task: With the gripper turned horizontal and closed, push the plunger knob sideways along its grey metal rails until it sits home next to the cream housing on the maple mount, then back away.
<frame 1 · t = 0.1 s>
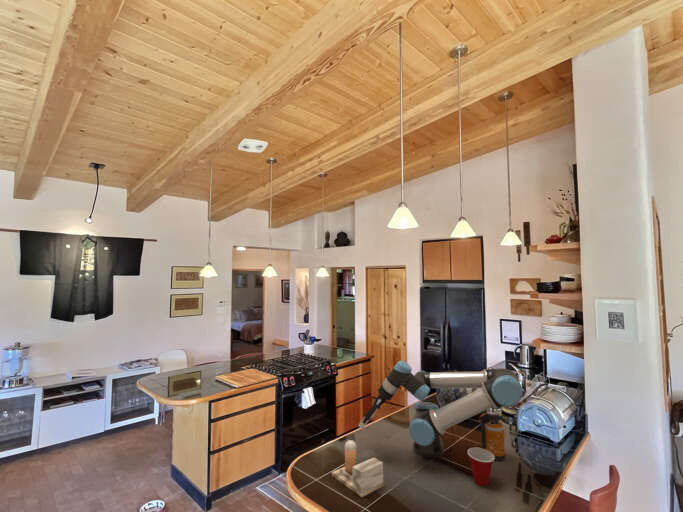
hand: (364, 421, 175), 15 cm above the worktop, tool tilted 35°, fingers open, 13 cm apart
decorative vase: (452, 418, 217), on the worktop
plunger knob: (350, 456, 155), point 8 cm above the worktop, slide at 0.0 cm
dragon fruit: (489, 428, 202), on the worktop
canister: (493, 457, 170), on the worktop
plastic cup: (482, 483, 148), on the worktop
knob mount: (356, 480, 151), on the worktop
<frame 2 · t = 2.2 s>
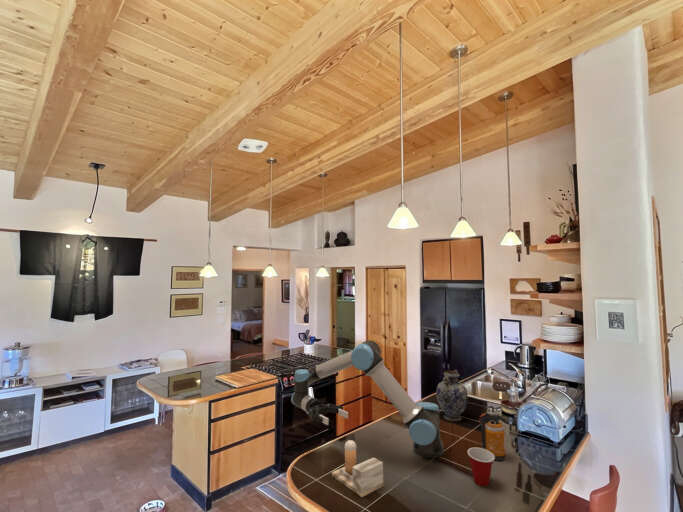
hand: (337, 418, 163), 22 cm above the worktop, tool horizontal, fingers open, 11 cm apart
nothing on the worktop moved.
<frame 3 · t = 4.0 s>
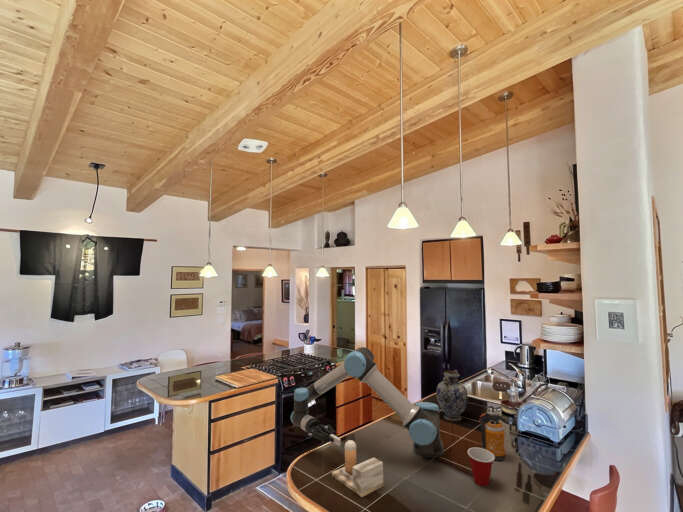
hand: (339, 442, 161), 12 cm above the worktop, tool horizontal, fingers closed
nothing on the worktop moved.
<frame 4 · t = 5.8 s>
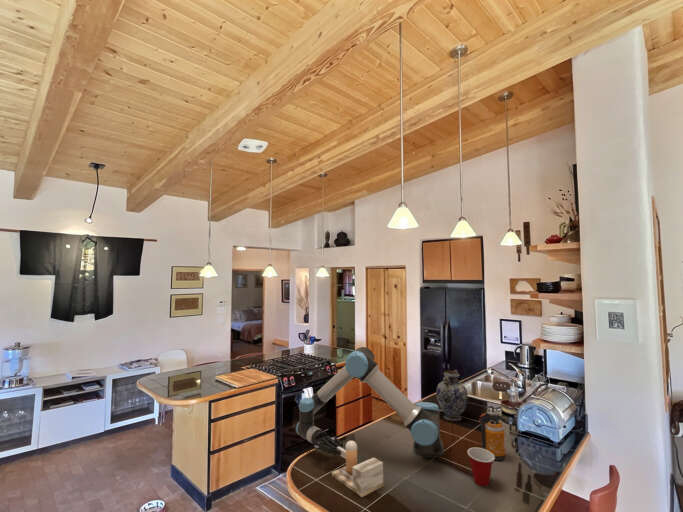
hand: (346, 455, 156), 8 cm above the worktop, tool horizontal, fingers closed
plunger knob: (351, 457, 154), point 8 cm above the worktop, slide at 0.6 cm, touching gripper
everything else where it was.
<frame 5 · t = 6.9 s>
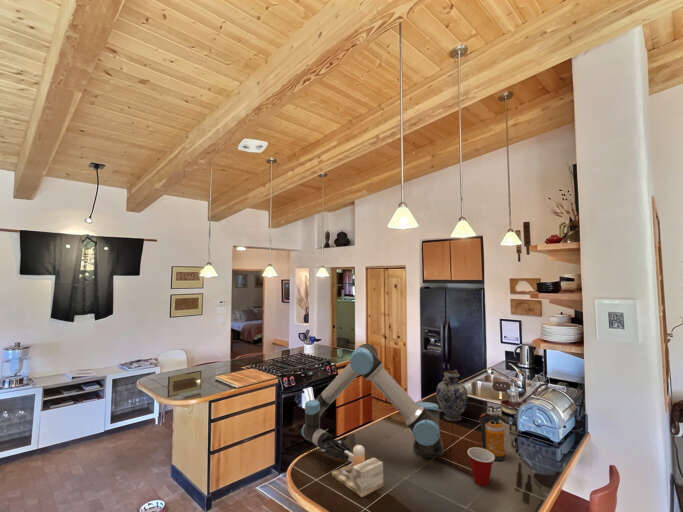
hand: (354, 459, 152), 8 cm above the worktop, tool horizontal, fingers closed
plunger knob: (359, 461, 150), point 8 cm above the worktop, slide at 5.7 cm, touching gripper
everything else where it was.
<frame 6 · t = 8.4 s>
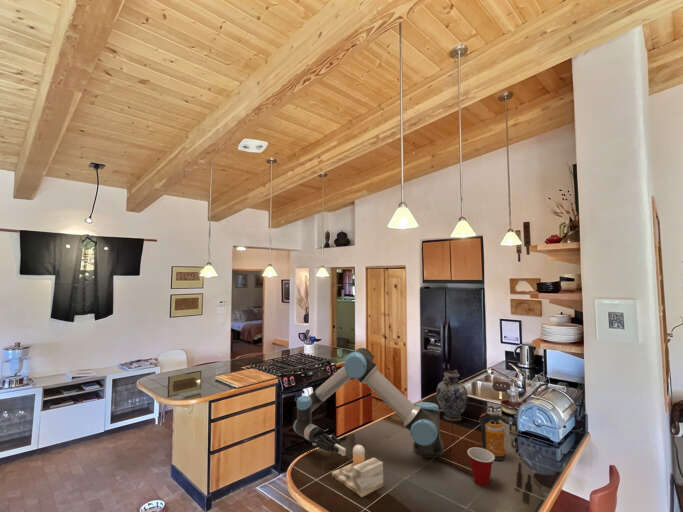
hand: (344, 452, 158), 9 cm above the worktop, tool horizontal, fingers closed
plunger knob: (358, 461, 151), point 8 cm above the worktop, slide at 5.5 cm
everything else where it was.
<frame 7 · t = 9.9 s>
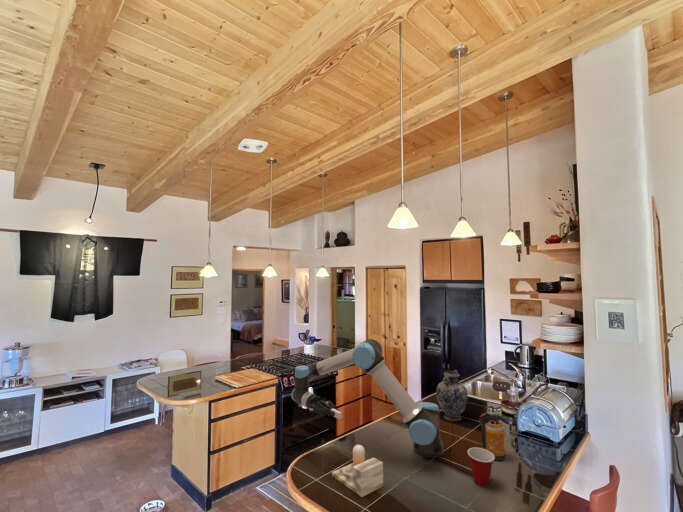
hand: (340, 415, 162), 24 cm above the worktop, tool horizontal, fingers closed
nothing on the worktop moved.
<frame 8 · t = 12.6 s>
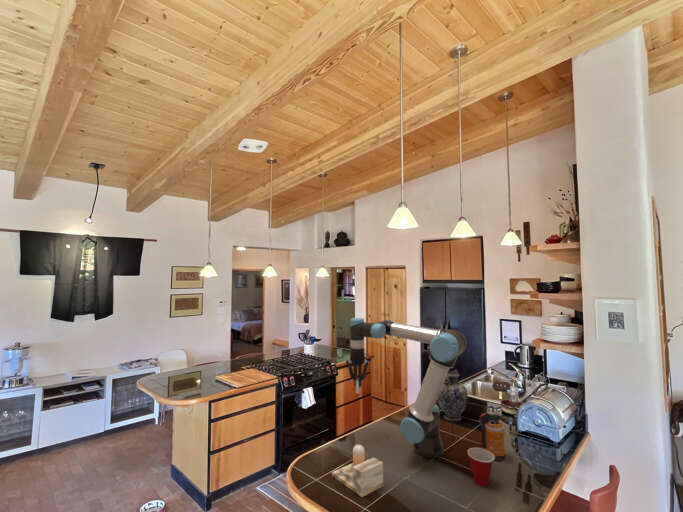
hand: (358, 392, 186), 26 cm above the worktop, tool pointing down, fingers closed
nothing on the worktop moved.
at the end: plunger knob slide at 5.5 cm; the gripper is holding nothing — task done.
